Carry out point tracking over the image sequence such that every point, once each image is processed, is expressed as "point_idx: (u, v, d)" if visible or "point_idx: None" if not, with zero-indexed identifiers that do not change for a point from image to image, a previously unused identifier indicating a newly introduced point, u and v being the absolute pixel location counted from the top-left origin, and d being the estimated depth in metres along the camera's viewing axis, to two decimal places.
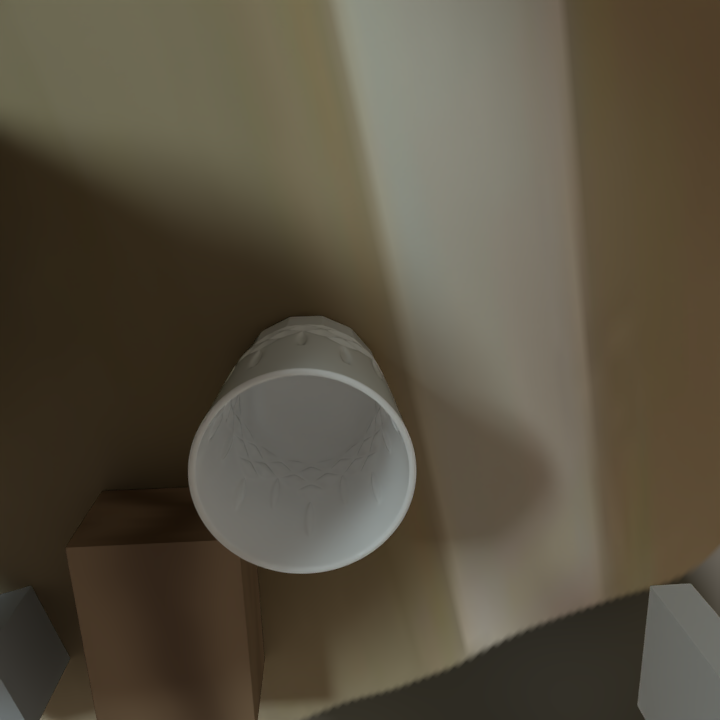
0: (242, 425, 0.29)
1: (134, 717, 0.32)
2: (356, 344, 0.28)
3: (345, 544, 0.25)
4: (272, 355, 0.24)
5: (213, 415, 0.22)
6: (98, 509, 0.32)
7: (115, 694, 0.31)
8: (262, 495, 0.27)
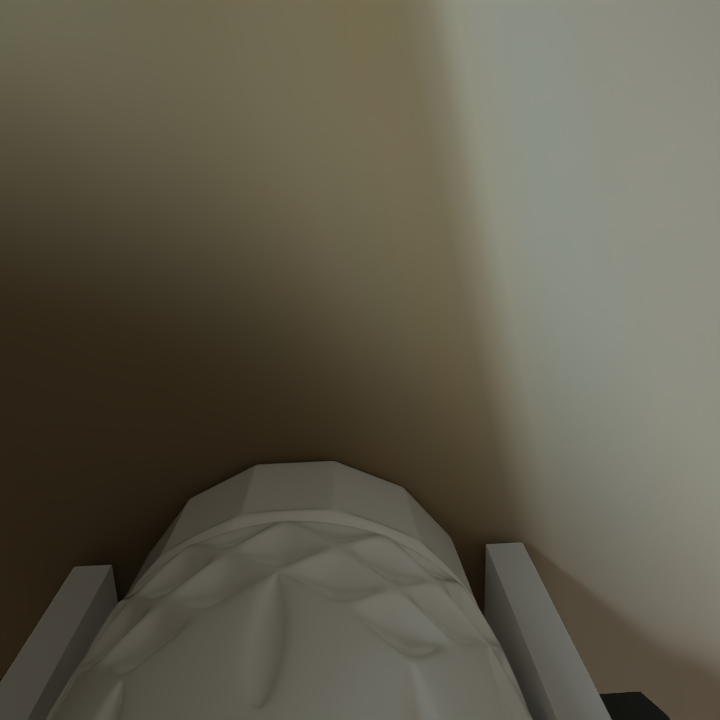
0: None
1: None
2: (435, 588, 0.10)
3: None
4: None
5: None
6: None
7: None
8: None
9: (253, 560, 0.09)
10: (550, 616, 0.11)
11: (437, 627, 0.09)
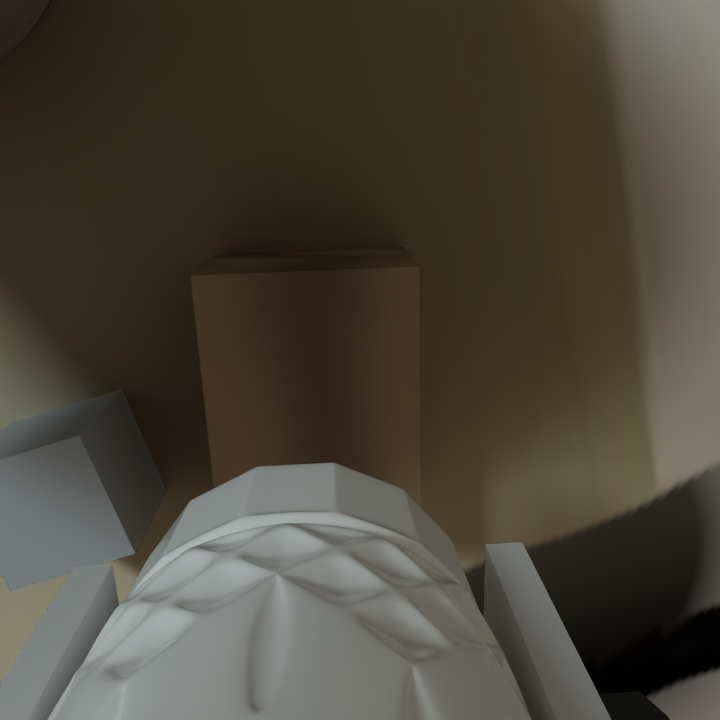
0: None
1: None
2: (435, 590, 0.10)
3: None
4: None
5: None
6: (218, 261, 0.24)
7: None
8: None
9: (253, 563, 0.09)
10: (550, 616, 0.11)
11: (437, 630, 0.09)
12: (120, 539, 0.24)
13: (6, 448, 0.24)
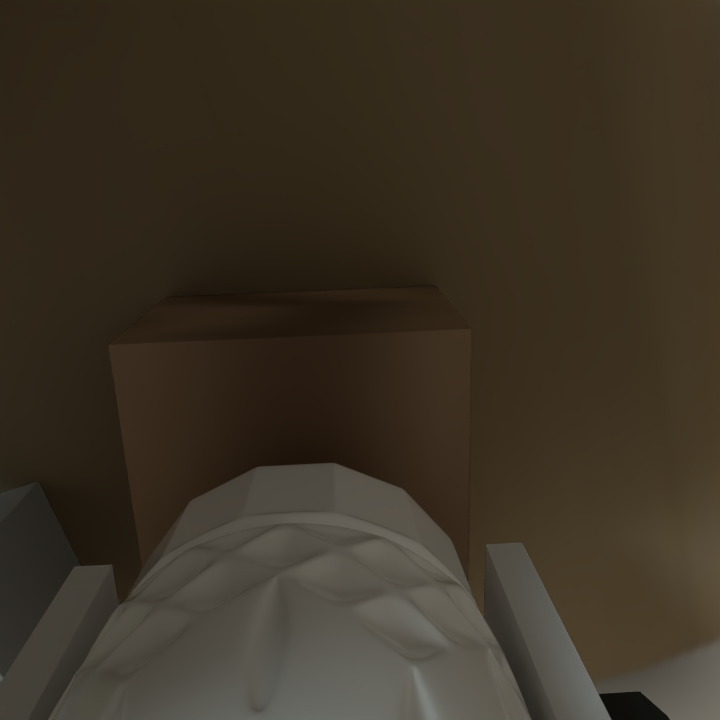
0: None
1: None
2: (435, 590, 0.10)
3: None
4: None
5: None
6: (165, 311, 0.16)
7: None
8: None
9: (254, 563, 0.09)
10: (550, 616, 0.11)
11: (437, 630, 0.09)
12: None
13: None
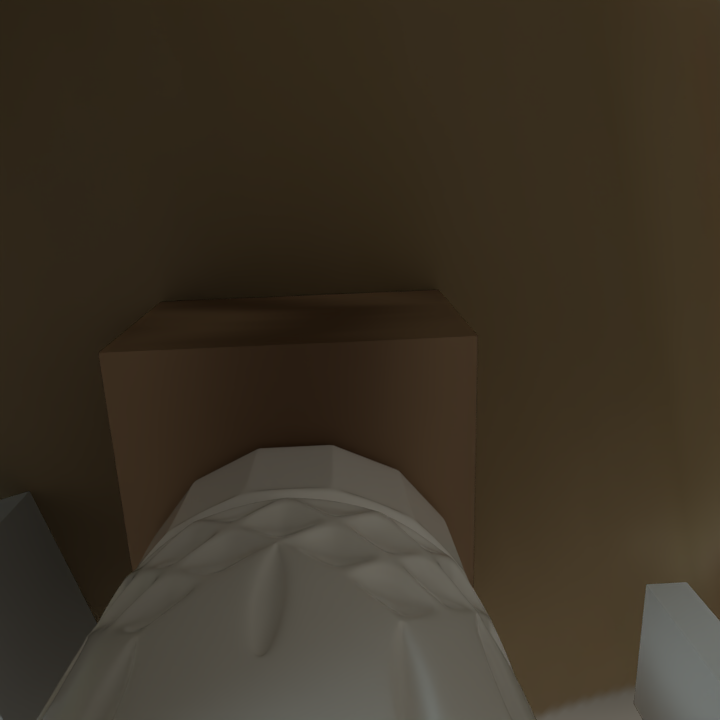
0: None
1: None
2: (426, 560, 0.10)
3: None
4: None
5: None
6: (159, 316, 0.16)
7: None
8: None
9: (255, 532, 0.10)
10: None
11: (427, 593, 0.09)
12: None
13: None
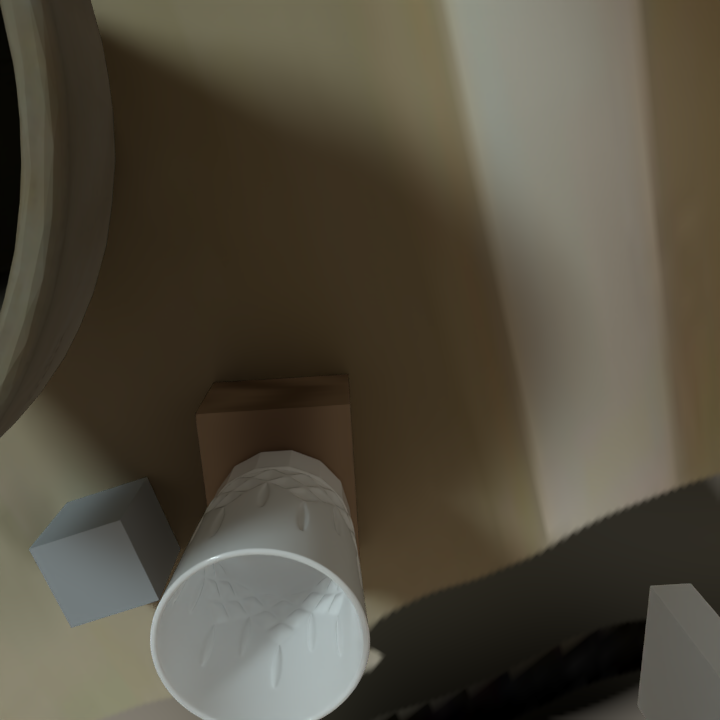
0: (215, 563, 0.31)
1: None
2: (320, 489, 0.29)
3: (307, 700, 0.25)
4: (231, 522, 0.25)
5: (172, 593, 0.23)
6: (215, 392, 0.35)
7: None
8: (231, 641, 0.28)
9: (259, 479, 0.28)
10: None
11: (316, 497, 0.28)
12: (148, 590, 0.34)
13: (68, 527, 0.34)
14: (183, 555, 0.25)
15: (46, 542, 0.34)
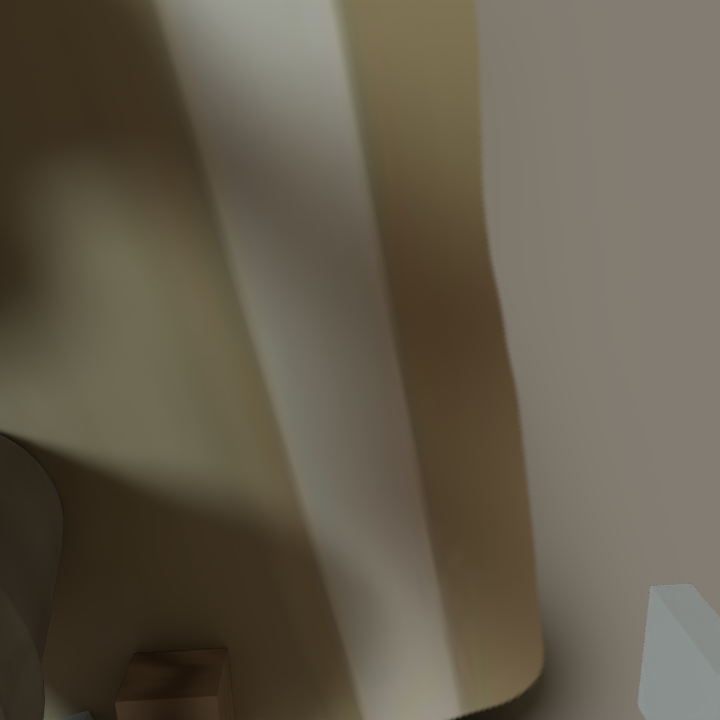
0: None
1: None
2: None
3: None
4: None
5: None
6: (132, 669, 0.51)
7: None
8: None
9: None
10: None
11: None
12: None
13: None
14: None
15: None
